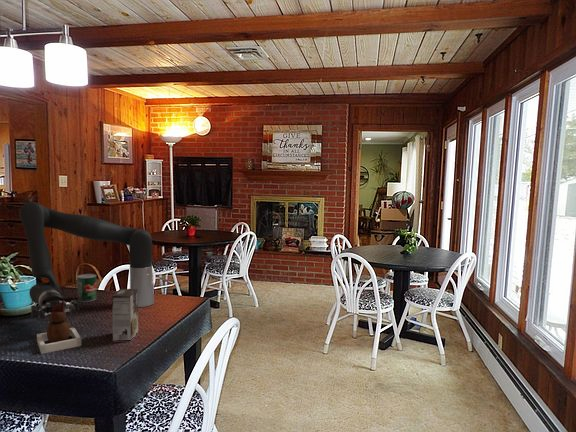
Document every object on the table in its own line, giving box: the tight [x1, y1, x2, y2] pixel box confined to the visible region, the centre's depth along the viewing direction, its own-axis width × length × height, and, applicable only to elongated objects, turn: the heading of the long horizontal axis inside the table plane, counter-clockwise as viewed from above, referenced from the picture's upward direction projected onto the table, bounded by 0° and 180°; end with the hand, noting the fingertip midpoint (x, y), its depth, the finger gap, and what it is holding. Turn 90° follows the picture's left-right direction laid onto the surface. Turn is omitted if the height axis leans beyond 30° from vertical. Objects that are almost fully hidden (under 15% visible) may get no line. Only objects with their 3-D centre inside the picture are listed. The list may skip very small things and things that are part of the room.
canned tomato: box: [76, 273, 97, 303], centre depth 185 cm, size 8×8×11 cm
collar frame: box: [36, 327, 82, 355], centre depth 136 cm, size 11×12×2 cm
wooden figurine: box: [46, 299, 71, 343], centre depth 136 cm, size 7×6×15 cm
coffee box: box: [111, 288, 139, 342], centre depth 143 cm, size 9×6×16 cm
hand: (58, 313), depth 136 cm, fingers open, 8 cm apart
